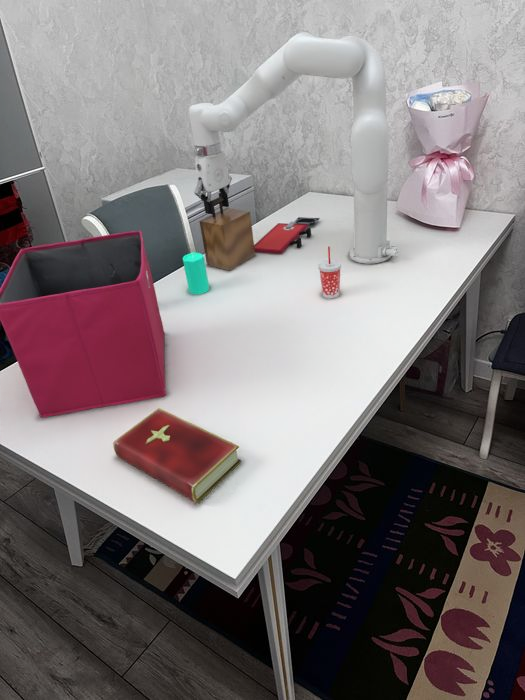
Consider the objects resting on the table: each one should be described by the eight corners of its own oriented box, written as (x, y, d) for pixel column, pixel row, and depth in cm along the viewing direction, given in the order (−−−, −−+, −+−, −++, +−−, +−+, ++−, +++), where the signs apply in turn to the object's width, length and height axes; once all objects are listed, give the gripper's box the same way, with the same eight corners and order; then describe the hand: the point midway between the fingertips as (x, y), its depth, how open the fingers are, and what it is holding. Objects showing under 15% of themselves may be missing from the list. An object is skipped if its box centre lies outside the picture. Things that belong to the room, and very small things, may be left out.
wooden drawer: (248, 195, 169) (224, 191, 174) (220, 208, 161) (196, 204, 166) (255, 255, 179) (232, 250, 185) (229, 270, 172) (206, 265, 177)
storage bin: (171, 397, 120) (142, 278, 105) (37, 422, 118) (-13, 303, 103) (168, 332, 144) (144, 228, 128) (56, 352, 141) (18, 248, 126)
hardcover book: (196, 505, 94) (191, 487, 92) (117, 458, 106) (111, 441, 103) (241, 461, 101) (238, 444, 99) (162, 422, 113) (158, 406, 111)
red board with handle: (325, 220, 198) (287, 219, 205) (324, 213, 197) (286, 211, 203) (292, 255, 177) (250, 252, 183) (291, 247, 175) (249, 244, 182)
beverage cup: (321, 289, 155) (318, 242, 148) (343, 289, 154) (341, 241, 146) (318, 299, 150) (315, 251, 143) (341, 299, 149) (339, 251, 141)
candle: (189, 286, 166) (181, 249, 159) (209, 284, 166) (202, 246, 159) (188, 295, 161) (181, 257, 154) (209, 293, 161) (202, 254, 154)
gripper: (196, 158, 154) (207, 221, 164) (237, 143, 165) (244, 202, 174) (177, 156, 158) (189, 217, 168) (218, 141, 169) (226, 199, 179)
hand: (217, 209), depth 171 cm, fingers closed on wooden drawer, 6 cm apart
